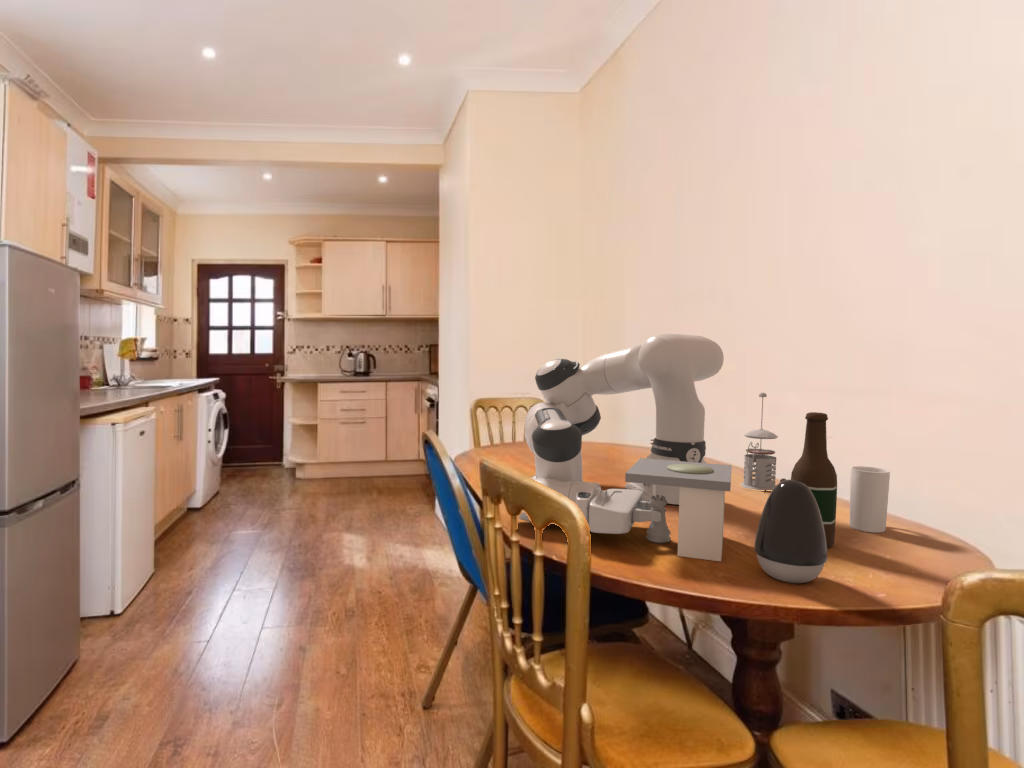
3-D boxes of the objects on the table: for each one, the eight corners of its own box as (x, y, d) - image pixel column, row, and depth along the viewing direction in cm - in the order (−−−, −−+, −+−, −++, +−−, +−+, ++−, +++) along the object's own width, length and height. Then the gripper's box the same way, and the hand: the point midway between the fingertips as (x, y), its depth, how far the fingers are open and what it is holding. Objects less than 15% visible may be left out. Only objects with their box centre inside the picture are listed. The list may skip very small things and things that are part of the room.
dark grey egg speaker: (812, 567, 98) (816, 474, 97) (836, 592, 88) (841, 488, 87) (746, 563, 99) (750, 471, 99) (762, 586, 89) (766, 484, 88)
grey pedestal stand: (623, 550, 104) (625, 471, 104) (638, 525, 120) (640, 456, 120) (727, 564, 99) (730, 480, 98) (728, 535, 114) (731, 463, 114)
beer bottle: (816, 551, 106) (822, 415, 105) (778, 539, 113) (783, 411, 112) (844, 546, 110) (850, 414, 108) (806, 534, 116) (811, 410, 115)
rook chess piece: (672, 537, 112) (671, 494, 112) (670, 544, 108) (669, 500, 108) (647, 535, 114) (647, 493, 113) (644, 542, 109) (644, 498, 109)
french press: (785, 487, 159) (789, 393, 158) (768, 494, 151) (772, 394, 149) (748, 481, 166) (751, 390, 165) (729, 488, 157) (733, 392, 156)
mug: (887, 535, 117) (890, 474, 116) (847, 529, 120) (850, 470, 120) (885, 523, 126) (888, 466, 125) (848, 518, 129) (851, 462, 128)
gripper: (599, 509, 125) (668, 516, 120) (574, 536, 106) (655, 546, 101) (600, 479, 125) (669, 485, 120) (575, 500, 105) (656, 509, 101)
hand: (662, 513), depth 110 cm, fingers closed on rook chess piece, 3 cm apart
